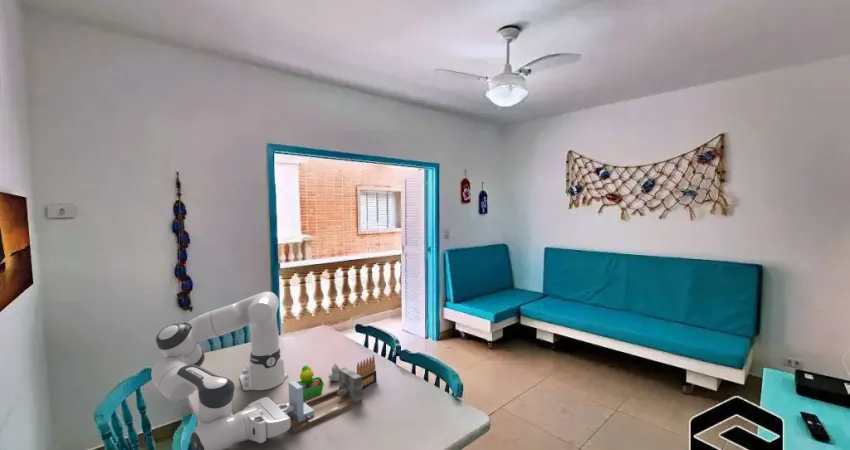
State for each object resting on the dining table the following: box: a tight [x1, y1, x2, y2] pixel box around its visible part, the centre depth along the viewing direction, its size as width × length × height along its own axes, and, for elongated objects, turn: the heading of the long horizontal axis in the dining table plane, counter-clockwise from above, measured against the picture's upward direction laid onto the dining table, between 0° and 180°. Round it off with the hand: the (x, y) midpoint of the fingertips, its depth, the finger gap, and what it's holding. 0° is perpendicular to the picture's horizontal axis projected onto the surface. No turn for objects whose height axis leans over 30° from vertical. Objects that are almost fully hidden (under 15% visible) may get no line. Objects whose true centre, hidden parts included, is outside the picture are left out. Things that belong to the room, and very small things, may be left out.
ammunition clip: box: [355, 355, 378, 391], centre depth 156 cm, size 11×2×12 cm, turn 143°
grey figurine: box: [328, 363, 340, 382], centre depth 162 cm, size 5×7×8 cm
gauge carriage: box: [288, 379, 314, 423], centre depth 131 cm, size 10×6×12 cm, turn 44°
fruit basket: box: [296, 364, 325, 401], centre depth 150 cm, size 11×9×11 cm
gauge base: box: [287, 366, 363, 435], centre depth 137 cm, size 12×28×10 cm, turn 134°
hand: (291, 406), depth 129 cm, fingers closed
